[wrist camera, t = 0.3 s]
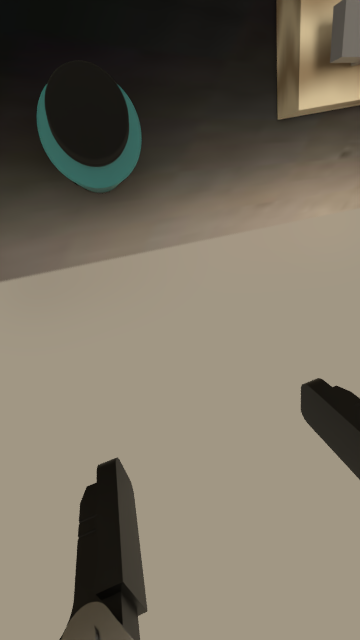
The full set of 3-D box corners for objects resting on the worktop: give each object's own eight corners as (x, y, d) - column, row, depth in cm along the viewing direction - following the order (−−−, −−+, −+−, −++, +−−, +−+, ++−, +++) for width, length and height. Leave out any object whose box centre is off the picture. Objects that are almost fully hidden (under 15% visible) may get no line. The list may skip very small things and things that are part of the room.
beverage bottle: (136, 159, 31) (184, 103, 13) (105, 207, 32) (110, 215, 14) (85, 112, 28) (60, -40, 10) (53, 167, 29) (-20, 115, 11)
